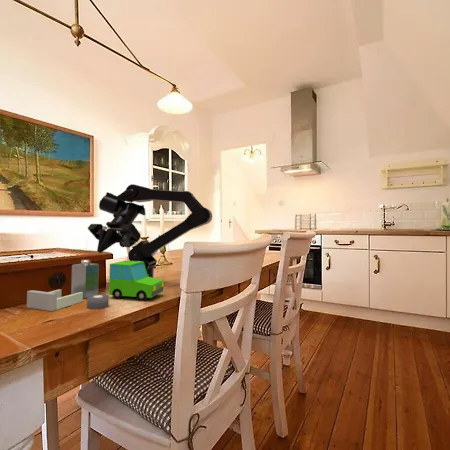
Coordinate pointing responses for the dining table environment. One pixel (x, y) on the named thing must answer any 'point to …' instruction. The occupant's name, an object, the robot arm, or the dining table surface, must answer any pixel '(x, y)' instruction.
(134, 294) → the toy car
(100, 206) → the robot arm
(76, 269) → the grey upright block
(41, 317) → the dining table surface
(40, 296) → the bay
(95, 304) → the spare wheel
